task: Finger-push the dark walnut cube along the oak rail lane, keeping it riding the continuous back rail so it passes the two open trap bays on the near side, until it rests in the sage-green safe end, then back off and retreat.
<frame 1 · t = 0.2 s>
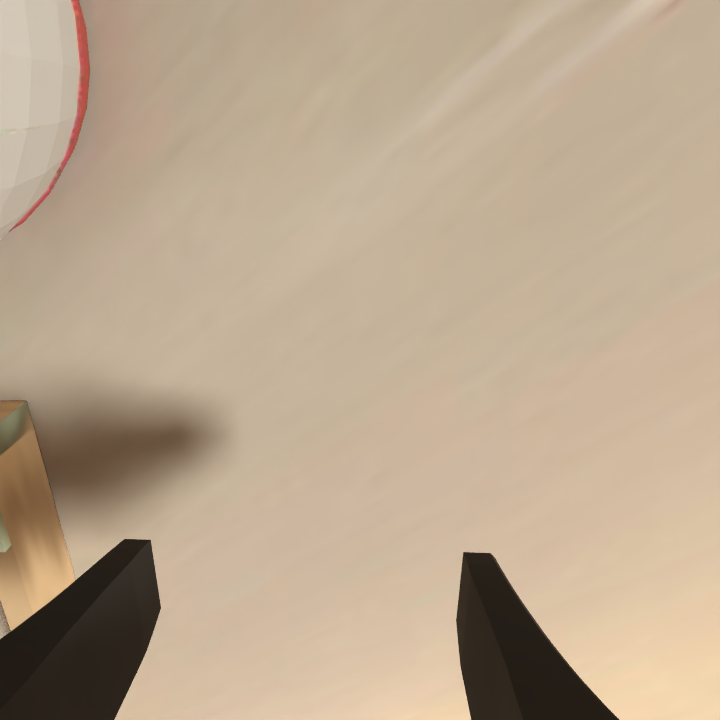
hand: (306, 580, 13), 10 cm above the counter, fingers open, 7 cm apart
trap lane: (4, 634, 28), on the counter
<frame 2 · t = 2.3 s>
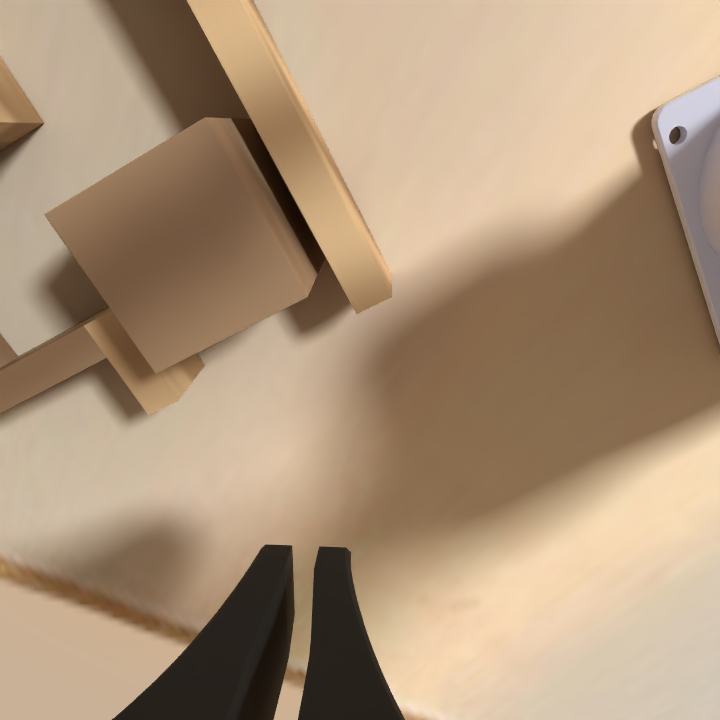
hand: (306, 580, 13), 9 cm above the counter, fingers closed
trap lane: (102, 17, 17), on the counter
walnut block: (226, 225, 20), on the counter
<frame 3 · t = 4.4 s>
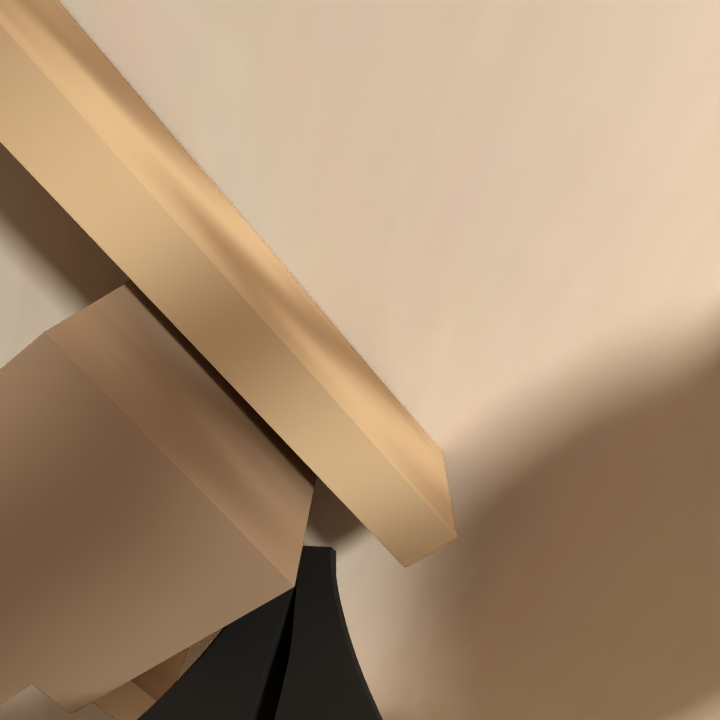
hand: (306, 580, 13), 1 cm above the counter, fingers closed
walnut block: (174, 403, 13), on the counter, touching gripper
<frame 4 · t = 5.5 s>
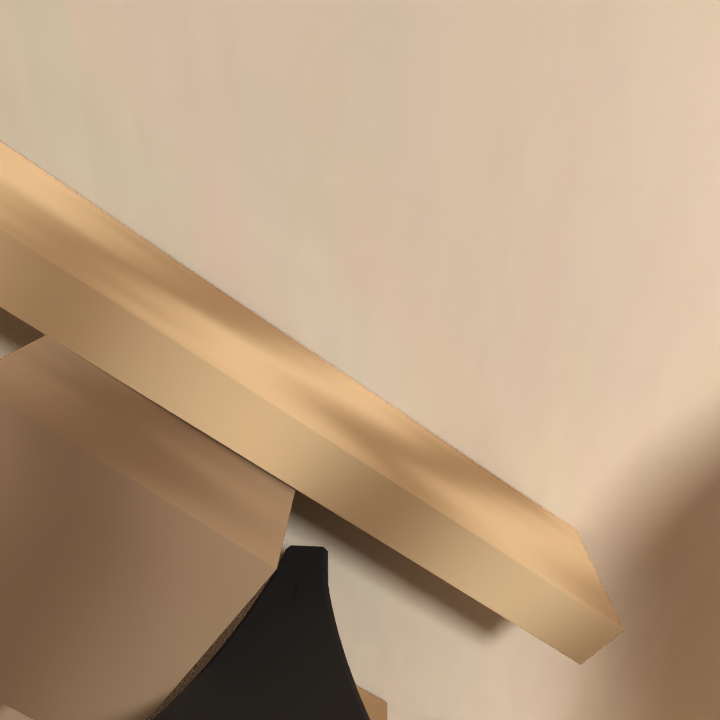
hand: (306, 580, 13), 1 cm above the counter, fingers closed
trap lane: (101, 415, 13), on the counter
walnut block: (162, 442, 13), on the counter, touching gripper, trap lane
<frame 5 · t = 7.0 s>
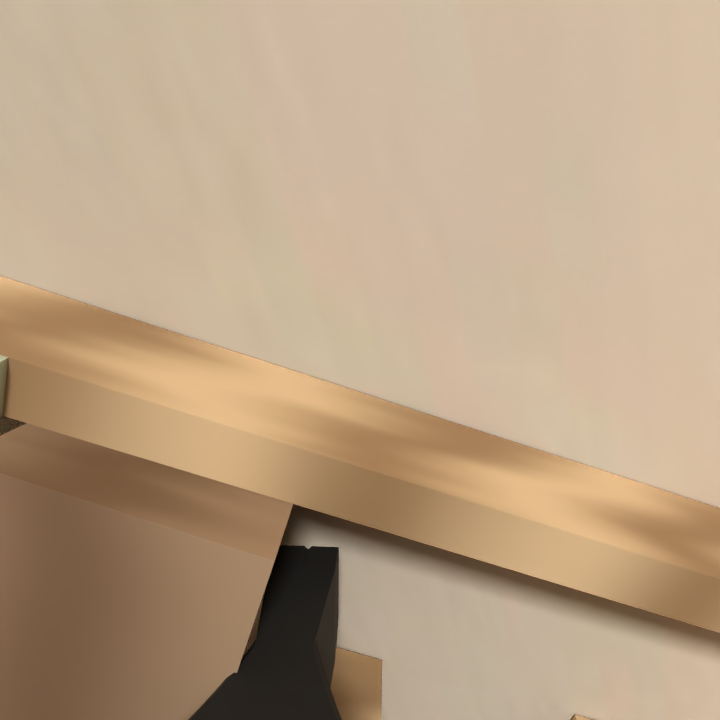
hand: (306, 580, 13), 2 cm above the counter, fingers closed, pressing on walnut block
trap lane: (372, 553, 15), on the counter
walnut block: (180, 514, 14), point 1 cm above the counter, tilted 13°, touching gripper, trap lane
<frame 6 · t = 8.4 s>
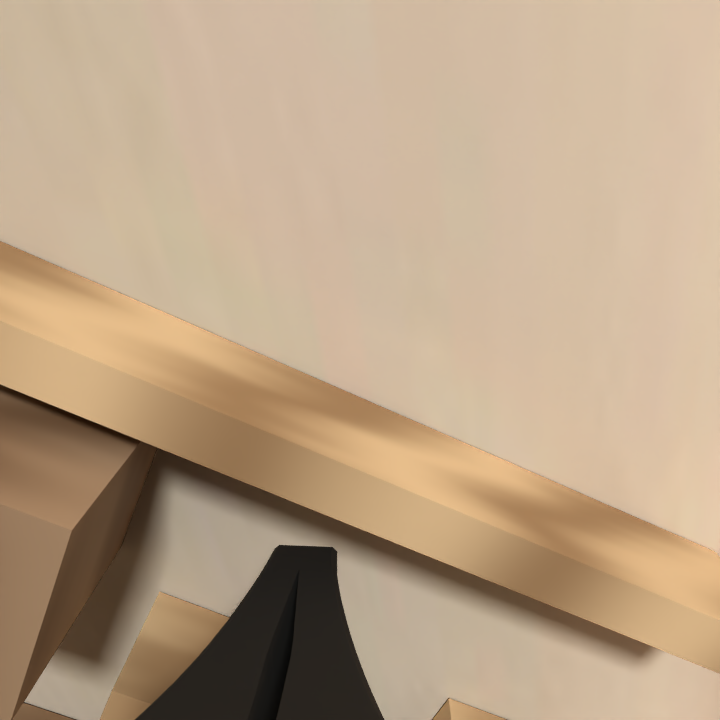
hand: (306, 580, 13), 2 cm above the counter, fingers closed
trap lane: (255, 518, 15), on the counter
walnut block: (51, 436, 14), on the counter
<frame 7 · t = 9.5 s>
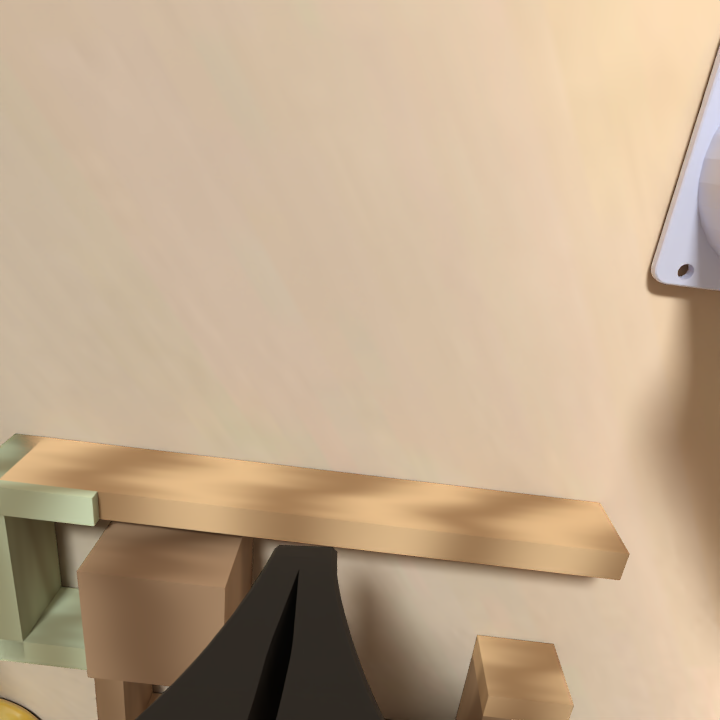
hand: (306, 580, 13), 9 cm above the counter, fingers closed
trap lane: (320, 555, 25), on the counter
walnut block: (196, 539, 25), on the counter
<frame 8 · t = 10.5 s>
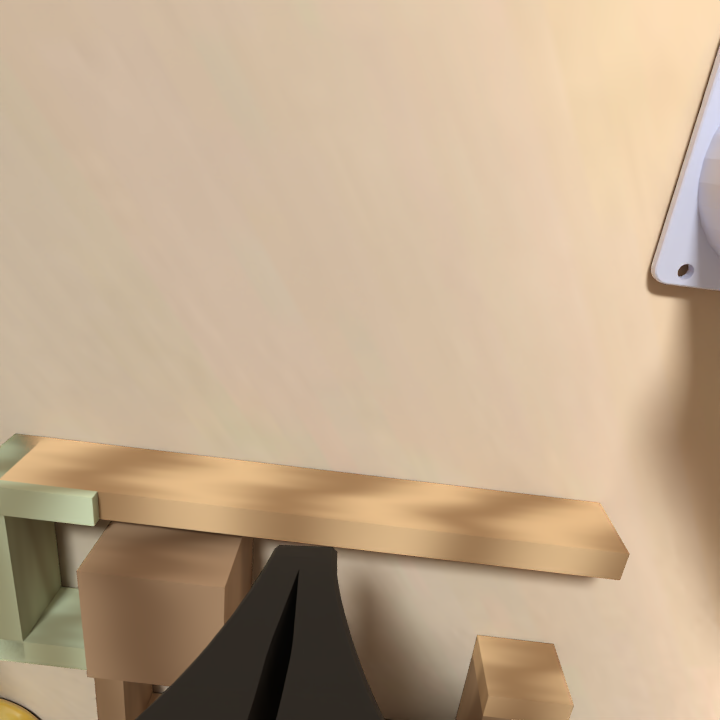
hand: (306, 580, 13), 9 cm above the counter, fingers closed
trap lane: (320, 555, 25), on the counter
walnut block: (196, 539, 25), on the counter
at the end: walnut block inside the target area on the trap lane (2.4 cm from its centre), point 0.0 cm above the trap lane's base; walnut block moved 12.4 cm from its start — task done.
